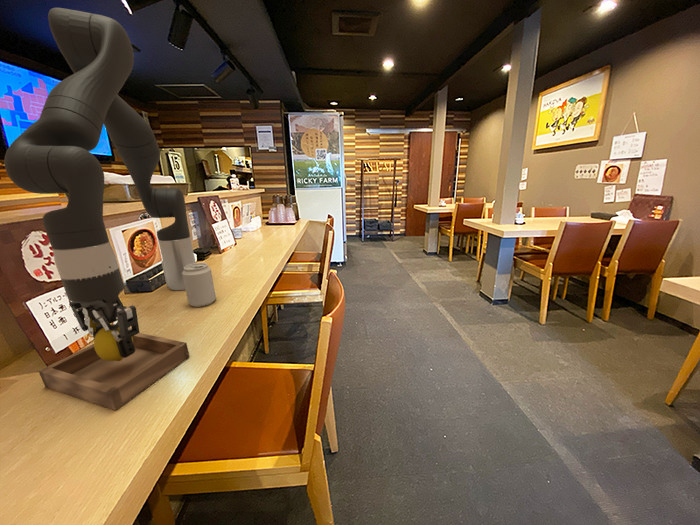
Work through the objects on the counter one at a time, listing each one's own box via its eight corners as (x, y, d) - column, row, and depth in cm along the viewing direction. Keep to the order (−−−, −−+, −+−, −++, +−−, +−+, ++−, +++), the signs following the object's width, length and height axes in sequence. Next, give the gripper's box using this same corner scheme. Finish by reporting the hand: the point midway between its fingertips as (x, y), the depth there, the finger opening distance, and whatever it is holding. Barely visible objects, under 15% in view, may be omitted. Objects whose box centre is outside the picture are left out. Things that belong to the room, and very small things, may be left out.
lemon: (118, 351, 55) (107, 317, 53) (144, 352, 55) (134, 317, 53) (93, 370, 50) (79, 332, 48) (121, 370, 50) (109, 333, 47)
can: (205, 309, 78) (197, 270, 74) (182, 307, 79) (174, 268, 76) (221, 298, 85) (215, 262, 81) (201, 296, 86) (194, 260, 83)
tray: (45, 386, 49) (38, 371, 48) (127, 342, 62) (123, 329, 61) (115, 410, 44) (109, 393, 43) (189, 356, 57) (186, 342, 56)
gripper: (142, 266, 48) (163, 347, 53) (88, 260, 52) (112, 335, 58) (93, 282, 41) (123, 372, 47) (35, 273, 46) (68, 357, 51)
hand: (117, 351), depth 52 cm, fingers closed on lemon, 5 cm apart
